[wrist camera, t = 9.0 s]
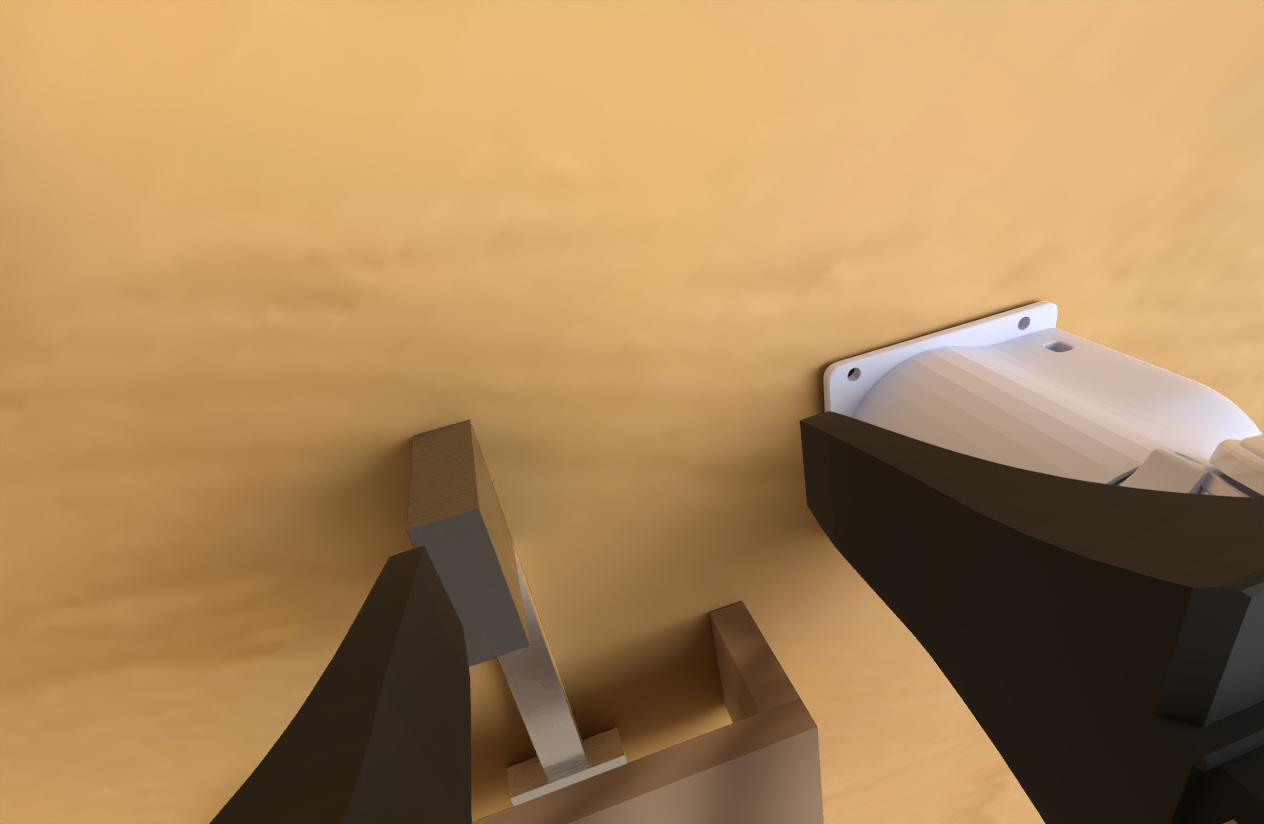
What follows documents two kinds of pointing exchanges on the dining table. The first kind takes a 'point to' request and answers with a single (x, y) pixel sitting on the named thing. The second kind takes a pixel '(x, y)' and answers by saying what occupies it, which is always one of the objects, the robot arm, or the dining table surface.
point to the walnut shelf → (710, 756)
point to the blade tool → (498, 607)
